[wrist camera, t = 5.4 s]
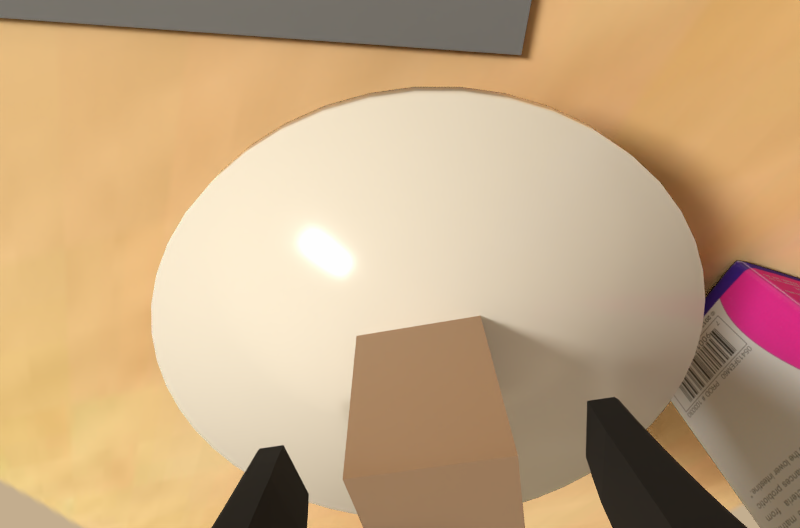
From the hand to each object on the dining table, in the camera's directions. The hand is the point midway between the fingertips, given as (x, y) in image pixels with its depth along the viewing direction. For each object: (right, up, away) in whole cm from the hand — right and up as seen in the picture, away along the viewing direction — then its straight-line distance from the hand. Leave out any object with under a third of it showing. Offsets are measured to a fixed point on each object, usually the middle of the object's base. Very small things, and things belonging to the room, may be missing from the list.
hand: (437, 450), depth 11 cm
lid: (0, +2, +2) cm, 3 cm away
